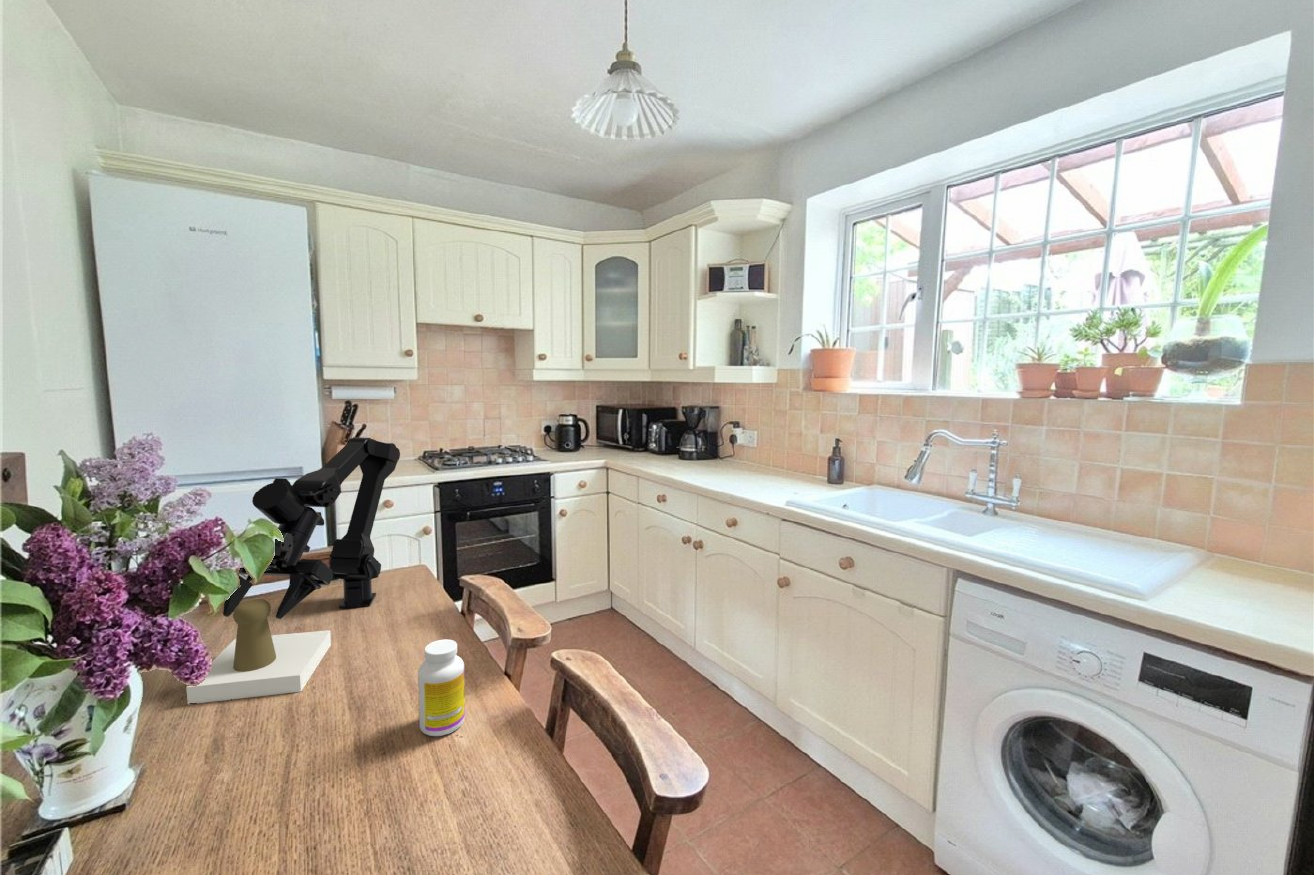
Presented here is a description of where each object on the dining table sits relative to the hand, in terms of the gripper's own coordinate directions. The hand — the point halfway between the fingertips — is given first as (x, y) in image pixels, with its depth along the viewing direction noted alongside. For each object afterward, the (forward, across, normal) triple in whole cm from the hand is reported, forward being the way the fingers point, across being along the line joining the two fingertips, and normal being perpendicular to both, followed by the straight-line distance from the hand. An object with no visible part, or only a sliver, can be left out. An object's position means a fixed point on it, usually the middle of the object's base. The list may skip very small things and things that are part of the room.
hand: (251, 617), depth 92 cm
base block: (+7, 0, +9) cm, 11 cm away
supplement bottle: (+15, +37, +1) cm, 40 cm away
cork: (+6, 0, +6) cm, 8 cm away
